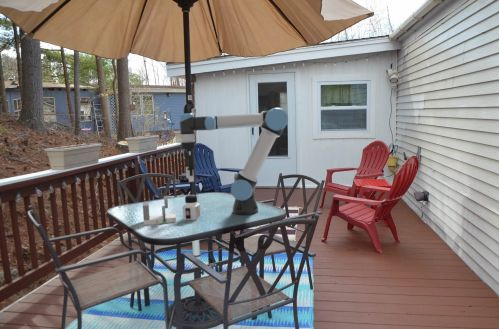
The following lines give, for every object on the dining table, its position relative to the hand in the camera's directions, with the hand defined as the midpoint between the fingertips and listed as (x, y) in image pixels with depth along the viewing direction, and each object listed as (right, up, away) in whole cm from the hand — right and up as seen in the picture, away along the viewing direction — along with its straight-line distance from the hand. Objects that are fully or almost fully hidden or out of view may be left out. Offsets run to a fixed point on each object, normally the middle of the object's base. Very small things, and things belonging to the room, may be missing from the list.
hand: (190, 179), depth 210 cm
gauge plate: (-13, -22, -2) cm, 25 cm away
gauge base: (-16, -23, -2) cm, 28 cm away
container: (+1, -22, +3) cm, 22 cm away
